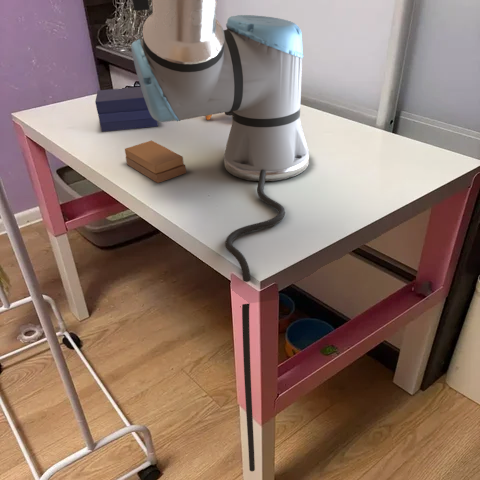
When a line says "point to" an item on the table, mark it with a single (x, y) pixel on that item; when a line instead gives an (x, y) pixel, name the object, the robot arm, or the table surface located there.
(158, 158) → the brown pile
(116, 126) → the navy pile
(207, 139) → the table surface
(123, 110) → the navy book
